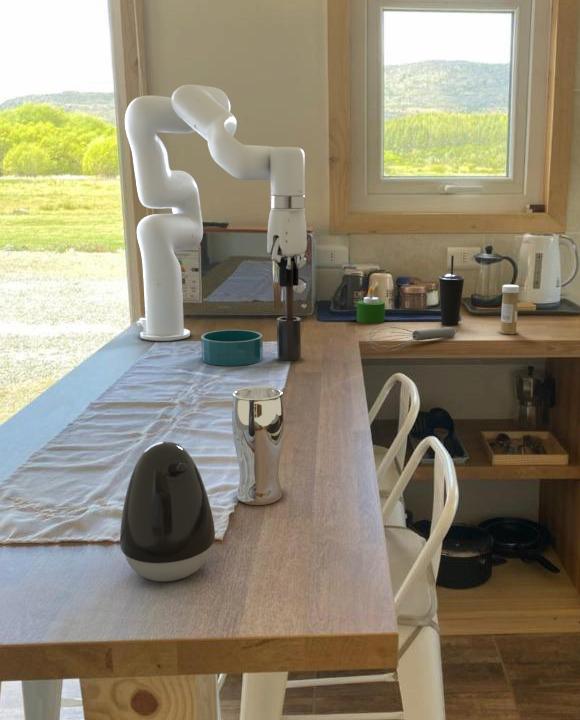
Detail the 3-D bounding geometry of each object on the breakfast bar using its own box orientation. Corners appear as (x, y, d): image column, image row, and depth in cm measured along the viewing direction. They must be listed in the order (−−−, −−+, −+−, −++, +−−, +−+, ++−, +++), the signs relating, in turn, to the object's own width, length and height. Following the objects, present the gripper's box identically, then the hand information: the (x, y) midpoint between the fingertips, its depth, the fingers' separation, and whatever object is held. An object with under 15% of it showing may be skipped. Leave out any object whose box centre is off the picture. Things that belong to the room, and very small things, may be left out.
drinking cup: (450, 320, 241) (452, 253, 237) (468, 324, 236) (471, 256, 231) (431, 323, 236) (433, 254, 232) (449, 327, 231) (452, 257, 226)
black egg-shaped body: (141, 604, 84) (133, 467, 80) (110, 564, 92) (101, 438, 88) (231, 577, 90) (228, 448, 86) (194, 541, 98) (190, 422, 94)
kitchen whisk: (465, 337, 218) (466, 314, 216) (378, 357, 194) (378, 331, 193) (448, 333, 222) (449, 311, 220) (360, 352, 198) (360, 327, 197)
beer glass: (224, 495, 111) (221, 391, 108) (265, 483, 116) (263, 382, 113) (253, 511, 107) (251, 403, 103) (295, 497, 111) (294, 393, 108)
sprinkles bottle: (519, 333, 224) (522, 285, 221) (507, 335, 222) (510, 287, 218) (508, 330, 228) (511, 283, 225) (496, 332, 225) (499, 284, 222)
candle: (380, 324, 233) (381, 290, 231) (353, 322, 235) (353, 288, 233) (387, 319, 241) (388, 286, 239) (360, 317, 243) (361, 284, 241)
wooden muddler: (283, 349, 187) (282, 261, 182) (287, 347, 189) (286, 260, 184) (292, 350, 186) (291, 262, 181) (296, 348, 188) (295, 261, 183)
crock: (273, 361, 187) (272, 319, 185) (285, 356, 192) (285, 315, 189) (292, 364, 185) (292, 321, 182) (305, 359, 189) (305, 317, 187)
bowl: (189, 363, 183) (188, 337, 182) (226, 351, 196) (225, 327, 194) (239, 371, 178) (238, 344, 176) (274, 358, 190) (274, 333, 188)
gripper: (292, 202, 188) (293, 280, 192) (253, 204, 174) (255, 289, 179) (320, 203, 185) (320, 283, 189) (282, 205, 171) (284, 291, 175)
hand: (289, 285), depth 184 cm, fingers closed on wooden muddler, 1 cm apart
